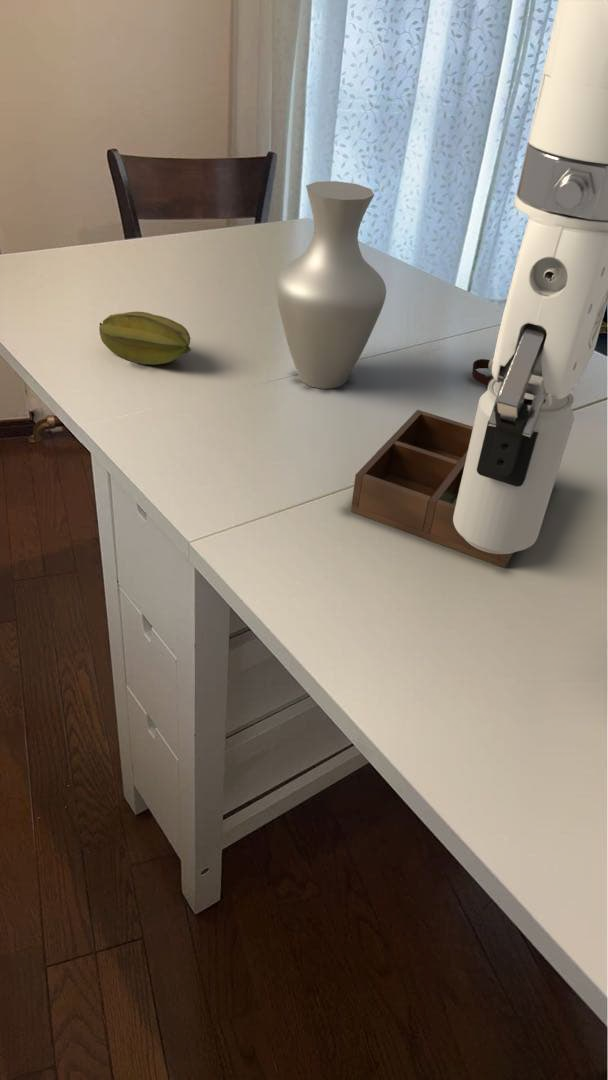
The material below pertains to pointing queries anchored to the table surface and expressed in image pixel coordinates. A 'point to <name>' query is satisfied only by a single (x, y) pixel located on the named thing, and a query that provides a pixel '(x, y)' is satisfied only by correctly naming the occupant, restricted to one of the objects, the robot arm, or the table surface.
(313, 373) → the vase
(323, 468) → the table surface
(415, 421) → the tray
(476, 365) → the watch
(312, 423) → the table surface
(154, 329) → the fruit
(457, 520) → the beverage can
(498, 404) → the robot arm
